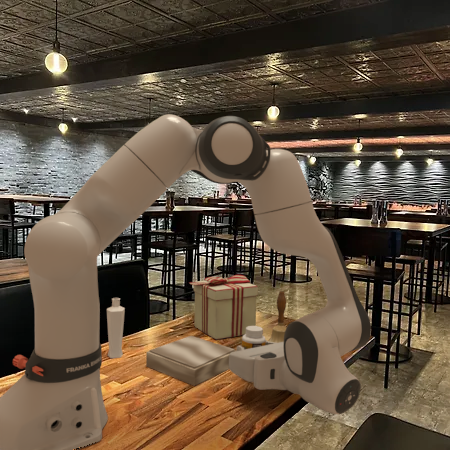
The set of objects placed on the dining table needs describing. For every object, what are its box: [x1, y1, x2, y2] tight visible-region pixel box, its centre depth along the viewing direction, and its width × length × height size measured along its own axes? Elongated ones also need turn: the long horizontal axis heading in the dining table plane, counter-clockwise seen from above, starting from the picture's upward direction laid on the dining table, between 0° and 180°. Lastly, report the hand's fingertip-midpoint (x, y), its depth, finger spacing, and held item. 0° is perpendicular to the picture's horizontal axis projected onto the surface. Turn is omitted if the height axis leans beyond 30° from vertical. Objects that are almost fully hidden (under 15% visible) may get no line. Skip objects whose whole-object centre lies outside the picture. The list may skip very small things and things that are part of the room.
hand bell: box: [268, 290, 287, 343], centre depth 123 cm, size 8×8×16 cm
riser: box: [145, 335, 237, 387], centre depth 108 cm, size 16×16×4 cm
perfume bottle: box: [106, 297, 126, 359], centre depth 112 cm, size 5×4×15 cm
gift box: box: [188, 274, 259, 340], centre depth 137 cm, size 17×18×17 cm
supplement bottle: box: [241, 325, 267, 349], centre depth 102 cm, size 6×6×10 cm
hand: (251, 346), depth 103 cm, fingers closed on supplement bottle, 6 cm apart
